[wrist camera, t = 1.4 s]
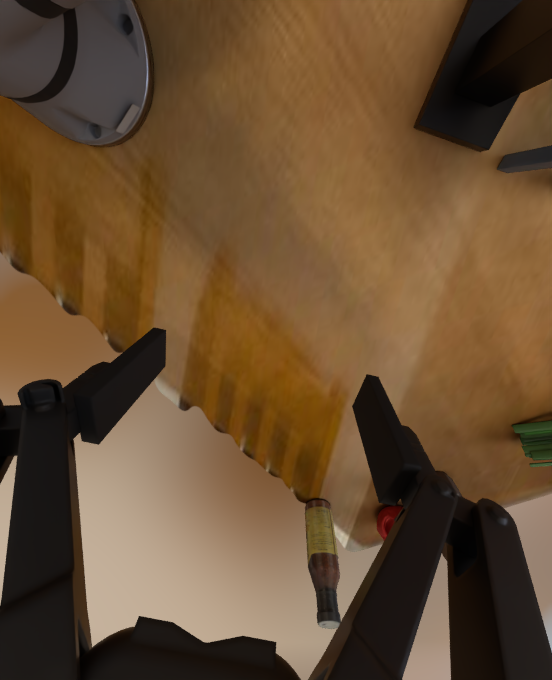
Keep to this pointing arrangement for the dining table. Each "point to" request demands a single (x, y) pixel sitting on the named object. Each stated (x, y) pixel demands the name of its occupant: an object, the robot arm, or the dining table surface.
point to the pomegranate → (387, 519)
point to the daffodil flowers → (536, 441)
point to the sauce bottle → (323, 561)
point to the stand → (488, 69)
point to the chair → (527, 160)
